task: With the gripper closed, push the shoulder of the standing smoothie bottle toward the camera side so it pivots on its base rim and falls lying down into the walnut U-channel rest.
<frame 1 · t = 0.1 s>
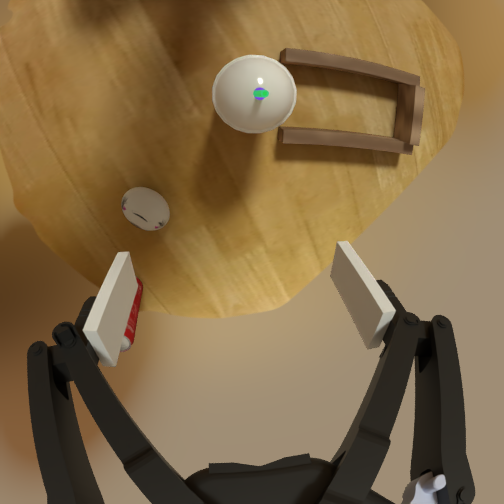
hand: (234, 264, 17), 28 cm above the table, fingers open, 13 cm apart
u rest: (349, 101, 37), on the table
beverage can: (131, 283, 51), on the table
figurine: (150, 199, 43), on the table
smoothie: (243, 93, 36), on the table
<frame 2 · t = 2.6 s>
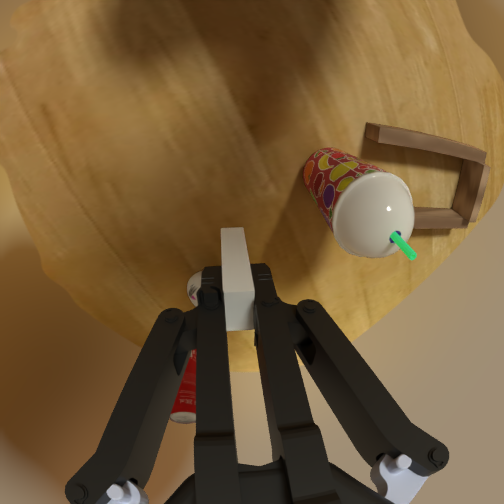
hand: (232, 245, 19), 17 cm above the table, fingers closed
u rest: (421, 177, 36), on the table
beverage can: (184, 347, 50), on the table
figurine: (214, 276, 42), on the table
smoothie: (324, 170, 35), on the table
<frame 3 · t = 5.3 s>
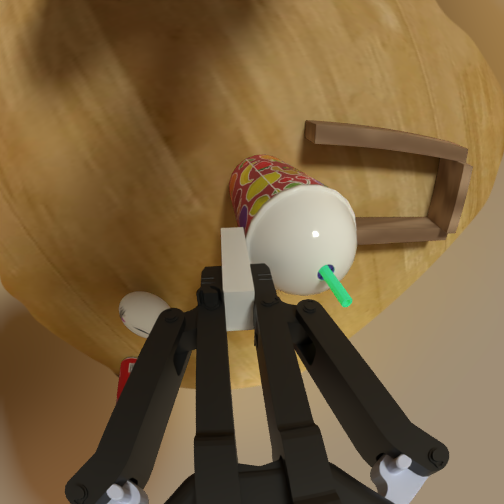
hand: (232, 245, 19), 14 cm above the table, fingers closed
u rest: (384, 182, 32), on the table
beverage can: (138, 364, 47), on the table
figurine: (151, 296, 38), on the table
smoothie: (257, 180, 31), on the table
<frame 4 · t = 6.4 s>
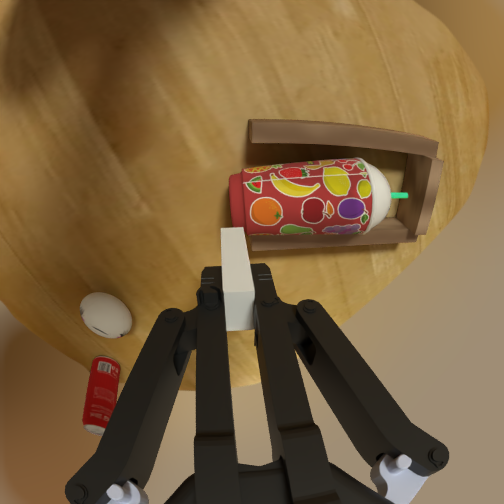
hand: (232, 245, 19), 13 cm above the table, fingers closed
u rest: (342, 180, 32), on the table
beverage can: (109, 362, 46), on the table
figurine: (112, 297, 38), on the table
smoothie: (229, 203, 28), point 3 cm above the table
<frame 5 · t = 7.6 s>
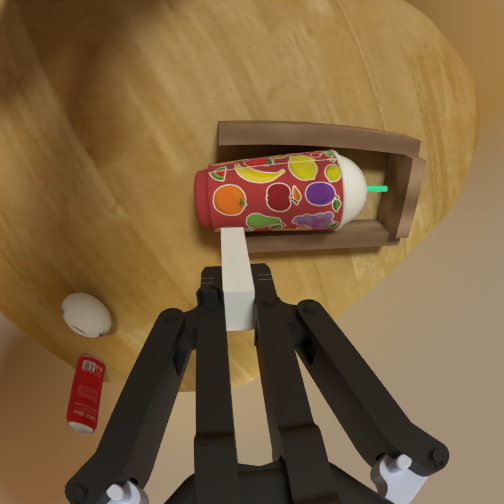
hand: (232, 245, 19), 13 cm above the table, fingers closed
u rest: (318, 182, 32), on the table
beverage can: (94, 362, 46), on the table
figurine: (94, 297, 37), on the table
smoothie: (197, 199, 28), point 3 cm above the table
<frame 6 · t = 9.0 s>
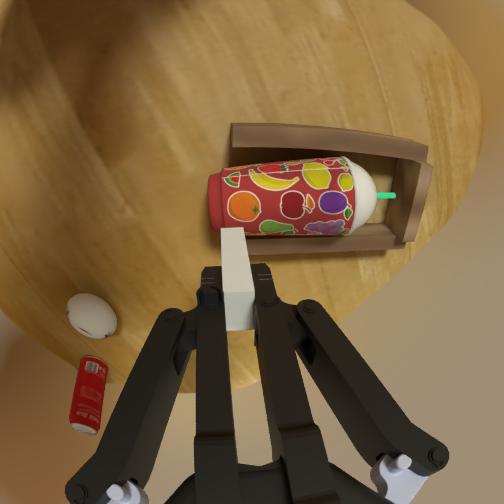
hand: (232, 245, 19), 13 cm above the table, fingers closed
u rest: (327, 185, 32), on the table
beverage can: (97, 362, 45), on the table
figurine: (99, 298, 37), on the table
smoothie: (209, 203, 28), point 3 cm above the table
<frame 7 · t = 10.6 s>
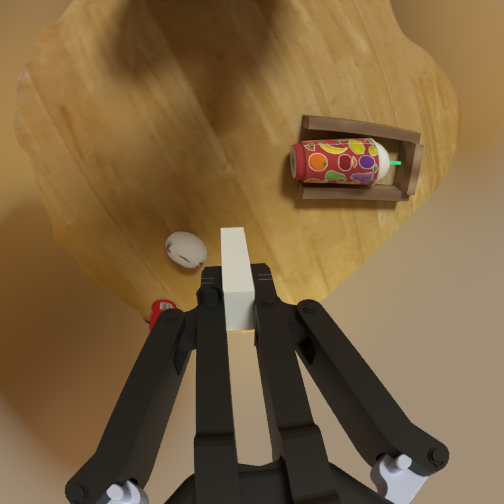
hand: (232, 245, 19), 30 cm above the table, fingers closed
u rest: (358, 157, 47), on the table
beverage can: (166, 306, 61), on the table
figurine: (188, 239, 53), on the table
smoothie: (291, 162, 43), point 3 cm above the table
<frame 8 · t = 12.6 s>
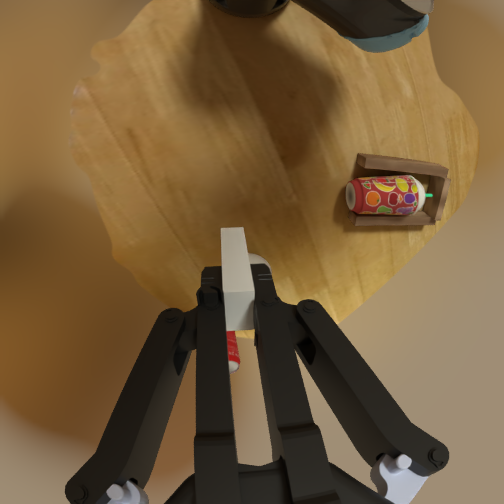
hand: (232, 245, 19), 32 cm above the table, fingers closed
u rest: (397, 189, 54), on the table
beverage can: (222, 317, 68), on the table
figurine: (251, 258, 59), on the table
smoothie: (349, 196, 50), point 3 cm above the table
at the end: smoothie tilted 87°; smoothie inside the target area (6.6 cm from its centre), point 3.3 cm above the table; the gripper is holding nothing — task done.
